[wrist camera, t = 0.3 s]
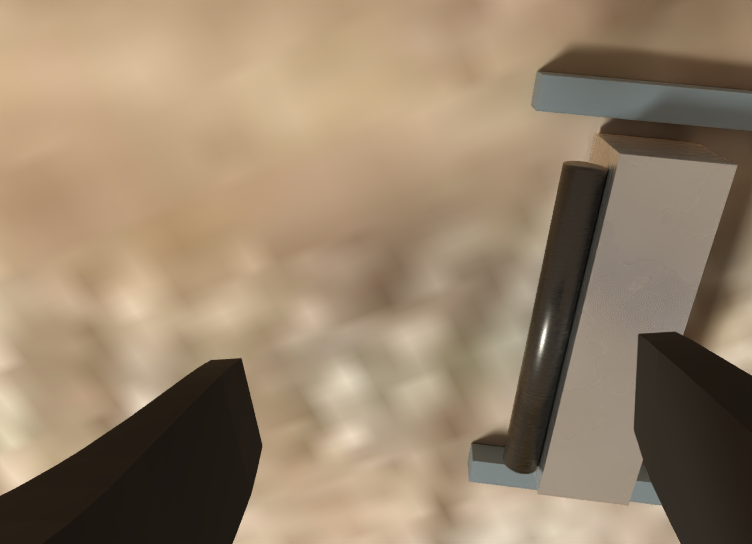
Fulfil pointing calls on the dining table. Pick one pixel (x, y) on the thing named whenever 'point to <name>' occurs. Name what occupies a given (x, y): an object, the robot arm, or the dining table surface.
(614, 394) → the sliding jaw
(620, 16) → the dining table surface
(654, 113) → the vise
